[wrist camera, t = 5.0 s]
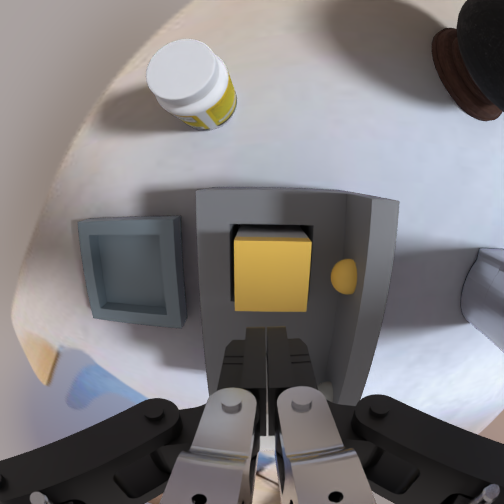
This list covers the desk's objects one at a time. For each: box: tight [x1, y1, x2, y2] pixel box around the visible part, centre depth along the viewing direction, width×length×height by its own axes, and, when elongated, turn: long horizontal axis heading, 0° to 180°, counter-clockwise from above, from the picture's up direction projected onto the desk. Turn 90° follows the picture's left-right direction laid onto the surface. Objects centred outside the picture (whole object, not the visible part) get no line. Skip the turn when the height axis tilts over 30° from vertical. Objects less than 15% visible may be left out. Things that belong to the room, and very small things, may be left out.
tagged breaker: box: [234, 224, 312, 312], centre depth 19 cm, size 4×4×8 cm
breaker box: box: [196, 187, 399, 406], centre depth 19 cm, size 18×10×10 cm, turn 0°
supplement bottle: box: [146, 39, 237, 131], centre depth 16 cm, size 5×5×8 cm
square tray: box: [78, 216, 187, 328], centre depth 23 cm, size 9×9×2 cm
